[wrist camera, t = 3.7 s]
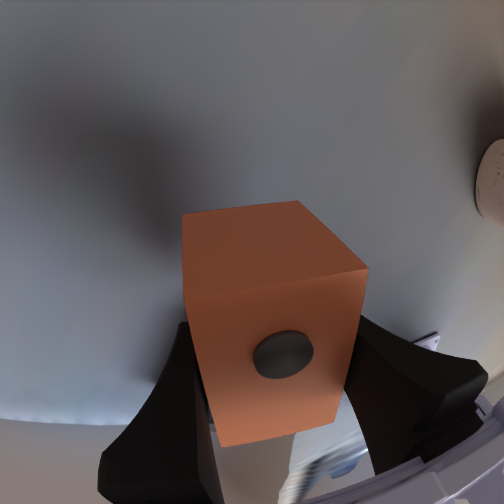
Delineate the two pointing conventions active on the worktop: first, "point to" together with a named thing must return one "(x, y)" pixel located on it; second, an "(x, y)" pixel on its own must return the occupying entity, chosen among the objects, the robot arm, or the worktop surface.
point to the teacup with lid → (491, 184)
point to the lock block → (270, 317)
